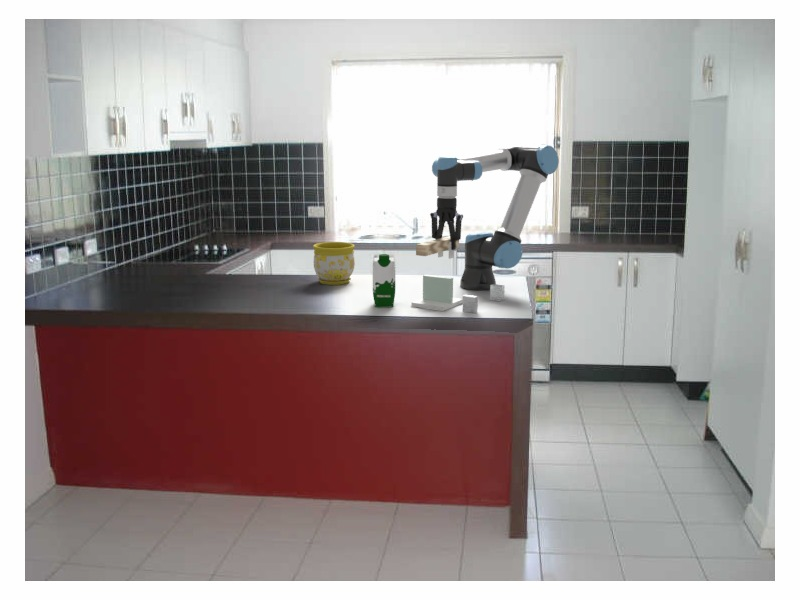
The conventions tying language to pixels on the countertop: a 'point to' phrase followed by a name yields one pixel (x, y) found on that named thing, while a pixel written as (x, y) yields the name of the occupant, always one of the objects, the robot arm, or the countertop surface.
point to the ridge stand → (437, 293)
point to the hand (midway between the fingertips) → (445, 257)
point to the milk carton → (384, 281)
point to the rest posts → (472, 301)
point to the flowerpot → (334, 262)
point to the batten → (434, 246)
